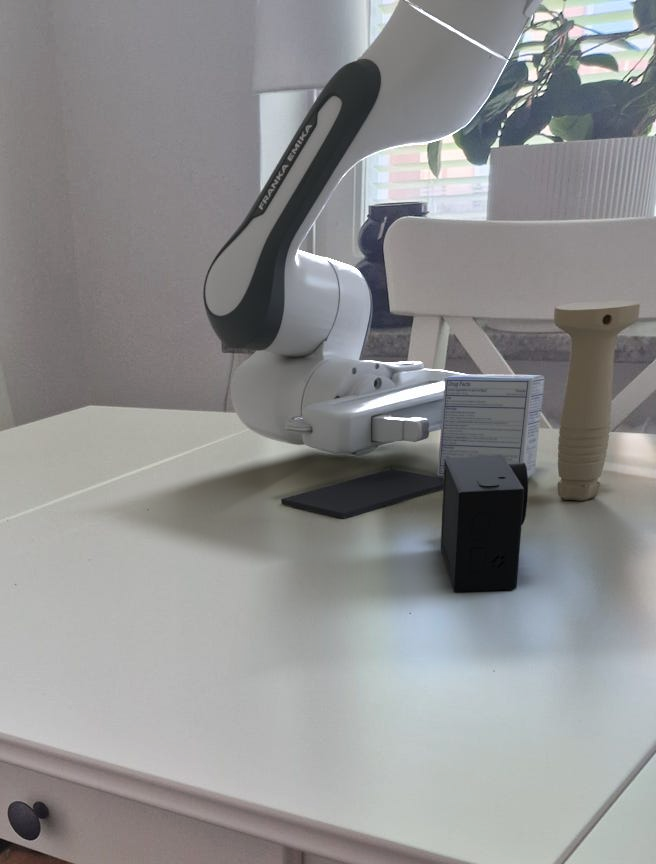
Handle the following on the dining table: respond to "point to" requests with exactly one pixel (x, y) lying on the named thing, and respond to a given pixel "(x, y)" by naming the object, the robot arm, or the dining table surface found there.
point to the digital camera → (483, 521)
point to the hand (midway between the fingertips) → (459, 421)
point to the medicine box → (491, 417)
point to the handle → (588, 391)
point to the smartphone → (365, 493)
